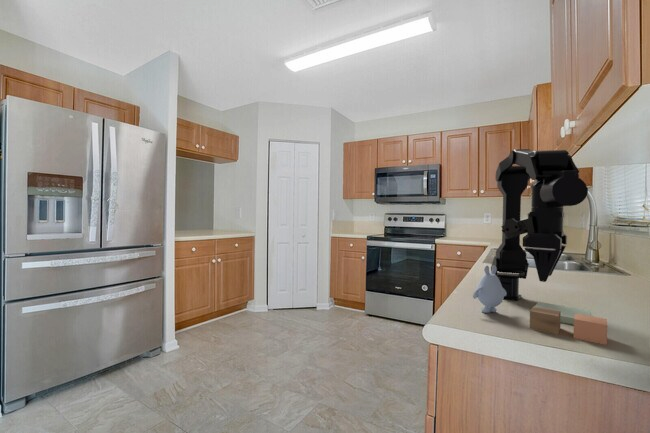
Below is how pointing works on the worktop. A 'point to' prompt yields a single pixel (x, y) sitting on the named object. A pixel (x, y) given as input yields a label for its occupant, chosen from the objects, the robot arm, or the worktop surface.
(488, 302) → the toy figure
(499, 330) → the worktop surface
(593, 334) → the terracotta brick
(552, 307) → the base plate
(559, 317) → the walnut brick
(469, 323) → the worktop surface
